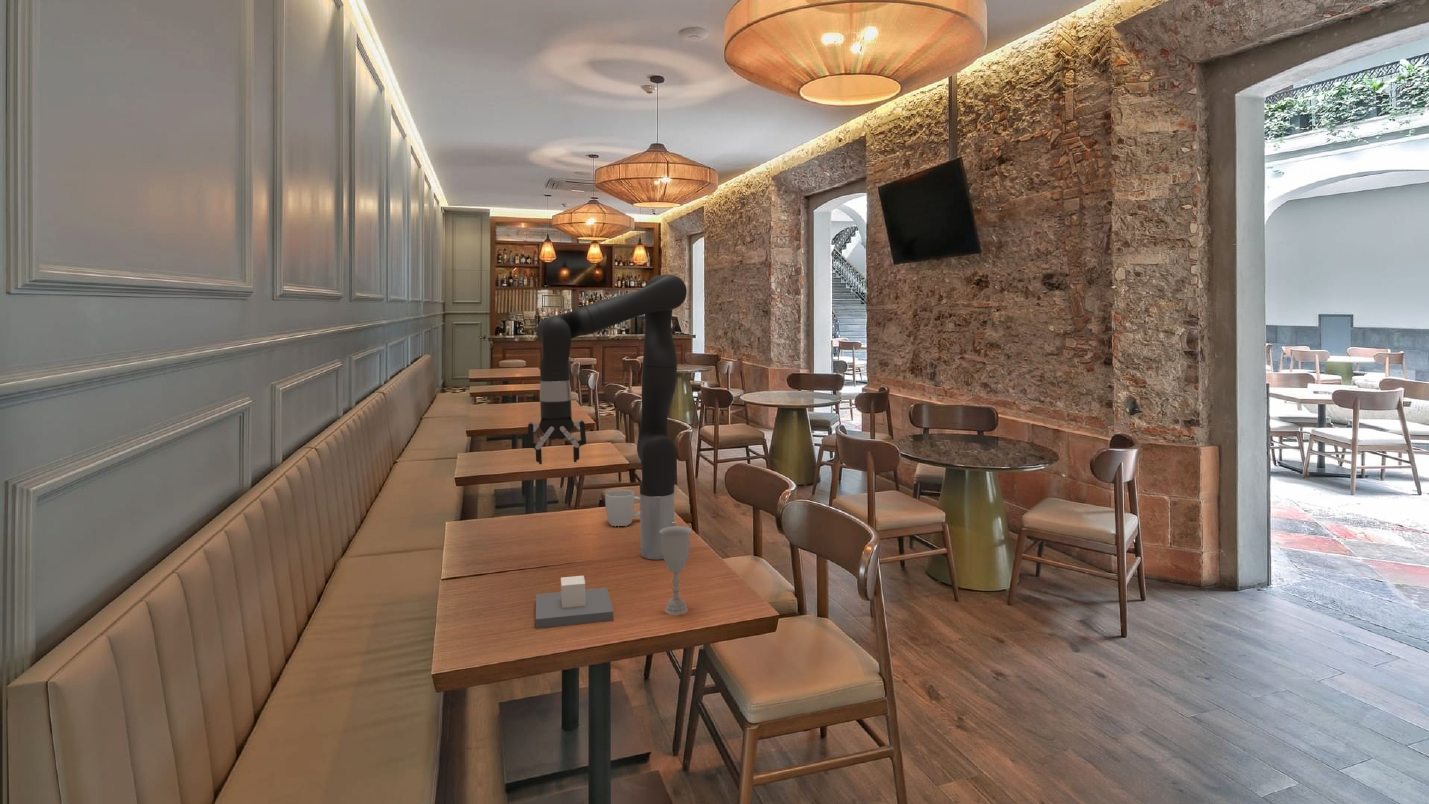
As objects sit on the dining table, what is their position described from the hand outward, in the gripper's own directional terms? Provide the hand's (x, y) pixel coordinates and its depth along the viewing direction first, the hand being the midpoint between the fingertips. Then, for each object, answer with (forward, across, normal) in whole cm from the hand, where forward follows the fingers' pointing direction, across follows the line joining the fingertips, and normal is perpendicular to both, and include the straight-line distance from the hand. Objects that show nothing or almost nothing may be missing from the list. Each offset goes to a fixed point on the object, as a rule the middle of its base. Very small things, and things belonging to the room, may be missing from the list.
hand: (557, 462), depth 179 cm
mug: (+28, -21, -38) cm, 52 cm away
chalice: (+28, -24, +32) cm, 49 cm away
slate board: (+28, -2, +27) cm, 39 cm away
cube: (+26, -2, +27) cm, 37 cm away
